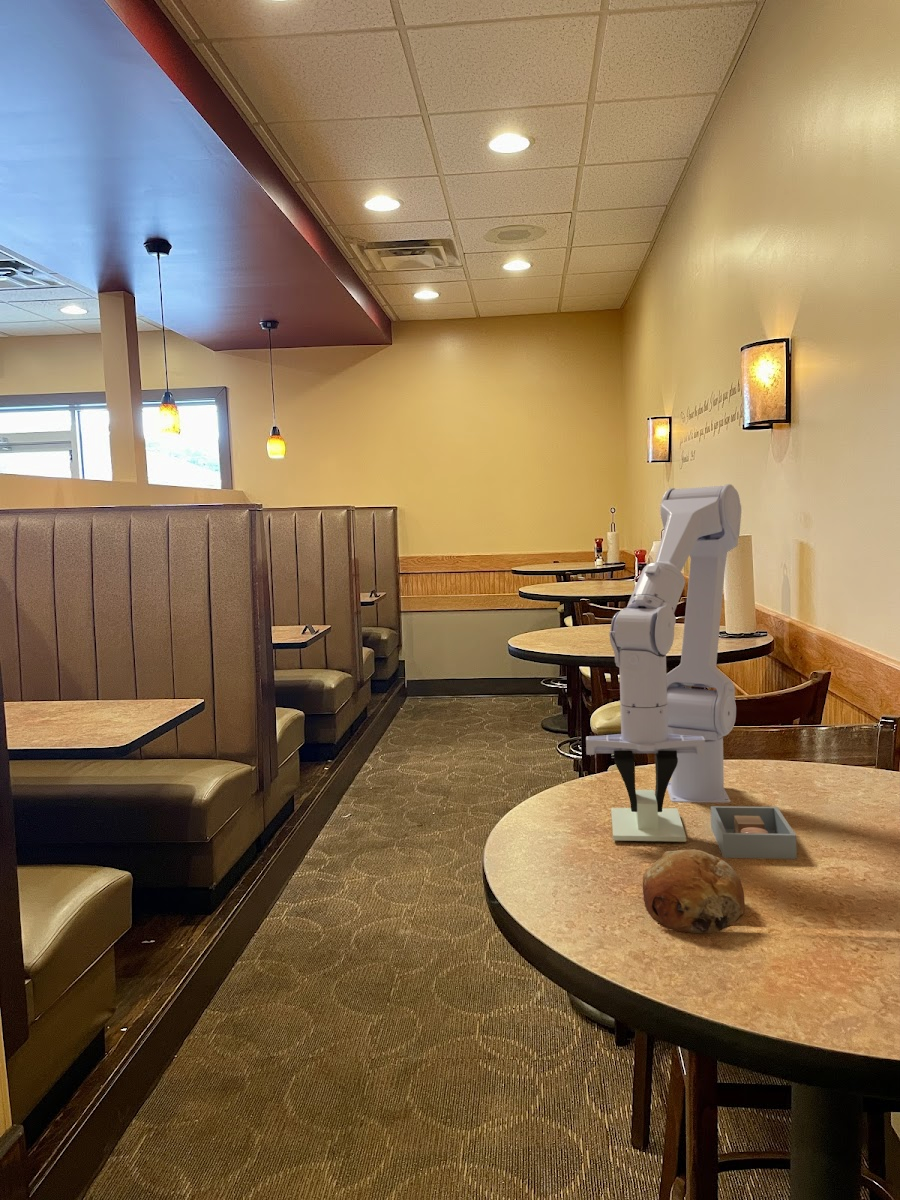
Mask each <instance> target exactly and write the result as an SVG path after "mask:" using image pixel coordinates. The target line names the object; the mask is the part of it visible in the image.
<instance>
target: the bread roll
mask: <svg viewBox="0 0 900 1200" xmlns="http://www.w3.org/2000/svg"><path fill="white" fill-rule="evenodd" d="M642 892H643V902H644V906H645V909H646V911H647V914H648V915H649V916H650V917H651V918H652V919H654V920H655V921H658V922H657V925H659V926H661V927H663V928H666V929H668V930H673V931H676V932H681V933H693V934H715V933H716V932H721V931H723V930H724V929H727V928H731V926H732V925H731V923H735V922H736V921H737V920H738V919H739V918H740V916H741V915H743V914H744V912H745V906H746V904H745V903H746V902H745V901H746V900H745V892H744V887H743V884H742V881H741V879H740V878H739V876H738V874H737V873H736V871H735V869H734V868H733V867H732V866H731V865H730V864H729V863H728V862H726V861H725V860H723V859H722V858H720V857H718V856H715V855H713V854H711V853H708V852H706V851H703V850H700V849H694V848H693V849H677V850H668V851H665V852H663V853H662V855H661V857H660V858H658V859H657V860H656V861H655V862H654V863H653V864H652V865H651V866H650V867H649V868H648V869H647V870H646V871H645V872H644V873H643V876H642ZM729 924H730V925H729Z"/></svg>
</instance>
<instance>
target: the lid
mask: <svg viewBox="0 0 900 1200" xmlns="http://www.w3.org/2000/svg"><path fill="white" fill-rule="evenodd" d="M635 791H636V800H637V812H632V811H631V807H610V812H611V813H610V814H611V828H612V839H613V840H612V841H628V842H629V841H630V842H631V841H632V842H633V841H635V842H678V843H679V842H685V843H686V842H687V835H686V832H685V828H684V826H683V823H682V820H681V816H680V813H679V812H680V811H679V810H678V808H677V807H676V808H671V807H669V808H667V807H665V808H663V807H662V812H658V805H657V800H656V796H655V790H654V789H635Z"/></svg>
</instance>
